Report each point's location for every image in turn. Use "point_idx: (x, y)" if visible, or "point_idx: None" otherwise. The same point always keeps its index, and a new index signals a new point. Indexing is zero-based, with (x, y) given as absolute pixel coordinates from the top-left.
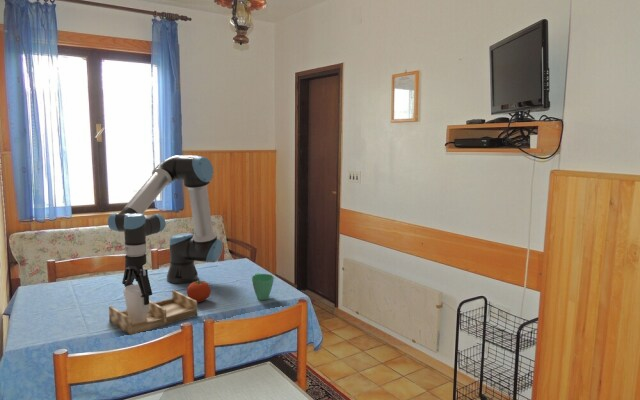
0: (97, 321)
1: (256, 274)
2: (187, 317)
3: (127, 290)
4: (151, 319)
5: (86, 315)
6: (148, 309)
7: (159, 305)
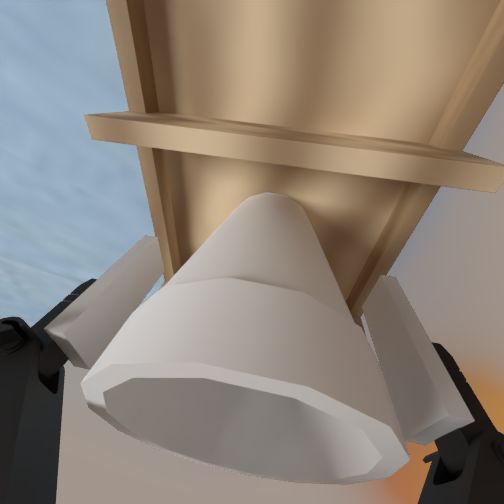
0: (159, 288)
1: None
2: None
3: (167, 398)
4: (326, 189)
5: None
6: (399, 294)
7: None
